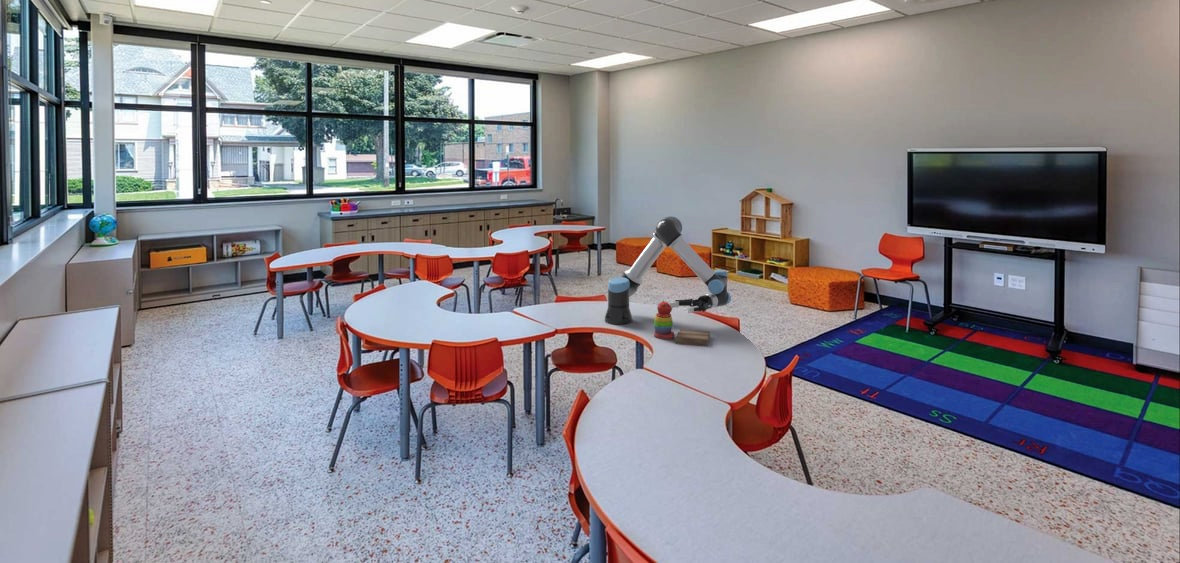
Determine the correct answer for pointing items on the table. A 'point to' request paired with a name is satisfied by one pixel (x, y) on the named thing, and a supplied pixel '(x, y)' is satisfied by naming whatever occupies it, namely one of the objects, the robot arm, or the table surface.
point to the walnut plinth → (693, 337)
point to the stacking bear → (663, 322)
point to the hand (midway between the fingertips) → (678, 308)
